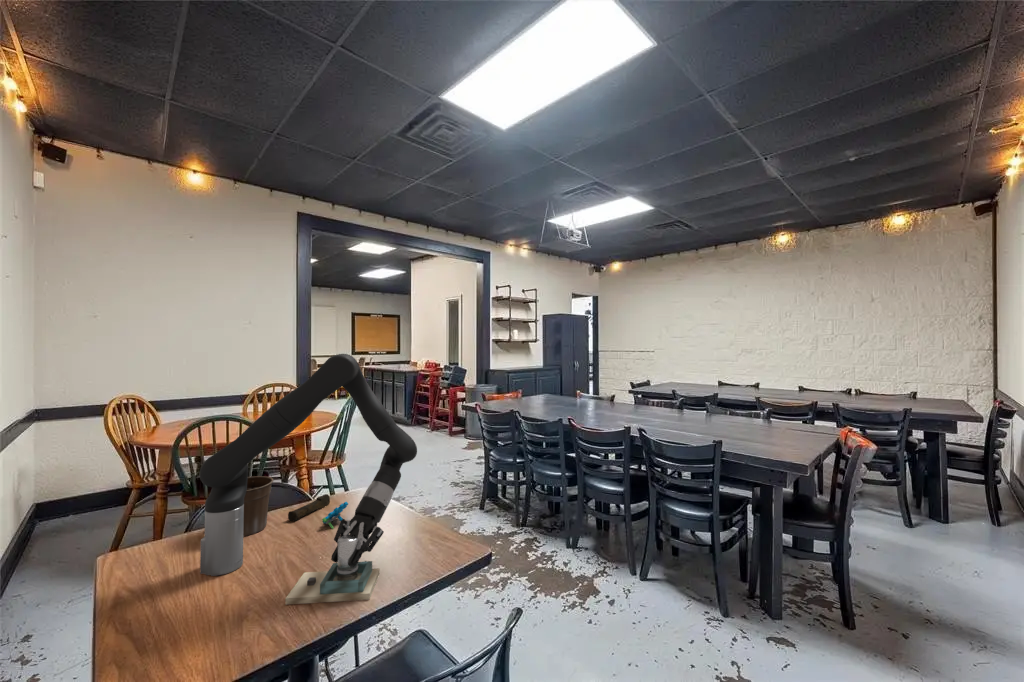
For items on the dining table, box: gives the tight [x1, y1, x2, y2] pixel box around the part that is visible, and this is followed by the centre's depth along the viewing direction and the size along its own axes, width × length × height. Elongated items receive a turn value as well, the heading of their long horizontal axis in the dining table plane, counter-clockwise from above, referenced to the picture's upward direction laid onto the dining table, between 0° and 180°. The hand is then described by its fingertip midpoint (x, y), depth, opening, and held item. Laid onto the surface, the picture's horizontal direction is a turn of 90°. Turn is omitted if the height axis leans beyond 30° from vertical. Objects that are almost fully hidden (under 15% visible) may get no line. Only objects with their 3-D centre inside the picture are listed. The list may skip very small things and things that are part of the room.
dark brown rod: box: [287, 493, 331, 523], centre depth 160 cm, size 19×4×5 cm, turn 159°
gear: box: [321, 501, 349, 530], centre depth 149 cm, size 11×6×10 cm
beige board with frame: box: [284, 560, 381, 606], centre depth 109 cm, size 20×12×4 cm, turn 96°
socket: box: [337, 534, 358, 581], centre depth 110 cm, size 5×5×10 cm
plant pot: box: [243, 475, 274, 537], centre depth 144 cm, size 16×16×16 cm
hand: (342, 563), depth 108 cm, fingers open, 5 cm apart
